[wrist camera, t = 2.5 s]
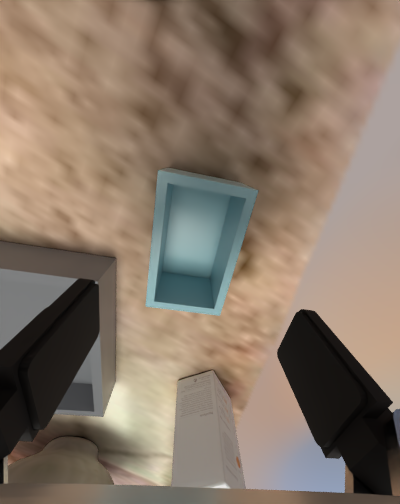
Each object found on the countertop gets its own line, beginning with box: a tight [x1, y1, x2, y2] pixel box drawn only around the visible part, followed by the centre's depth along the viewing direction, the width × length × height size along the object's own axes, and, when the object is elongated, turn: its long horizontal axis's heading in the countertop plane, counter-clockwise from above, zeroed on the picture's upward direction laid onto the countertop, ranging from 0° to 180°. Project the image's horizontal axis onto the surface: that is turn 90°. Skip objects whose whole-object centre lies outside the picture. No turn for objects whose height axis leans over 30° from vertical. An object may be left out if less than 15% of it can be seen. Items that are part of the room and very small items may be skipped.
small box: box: [171, 370, 246, 489], centre depth 24 cm, size 8×6×10 cm
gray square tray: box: [0, 241, 116, 417], centre depth 20 cm, size 20×20×4 cm
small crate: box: [146, 168, 259, 316], centre depth 15 cm, size 10×6×5 cm, turn 169°
